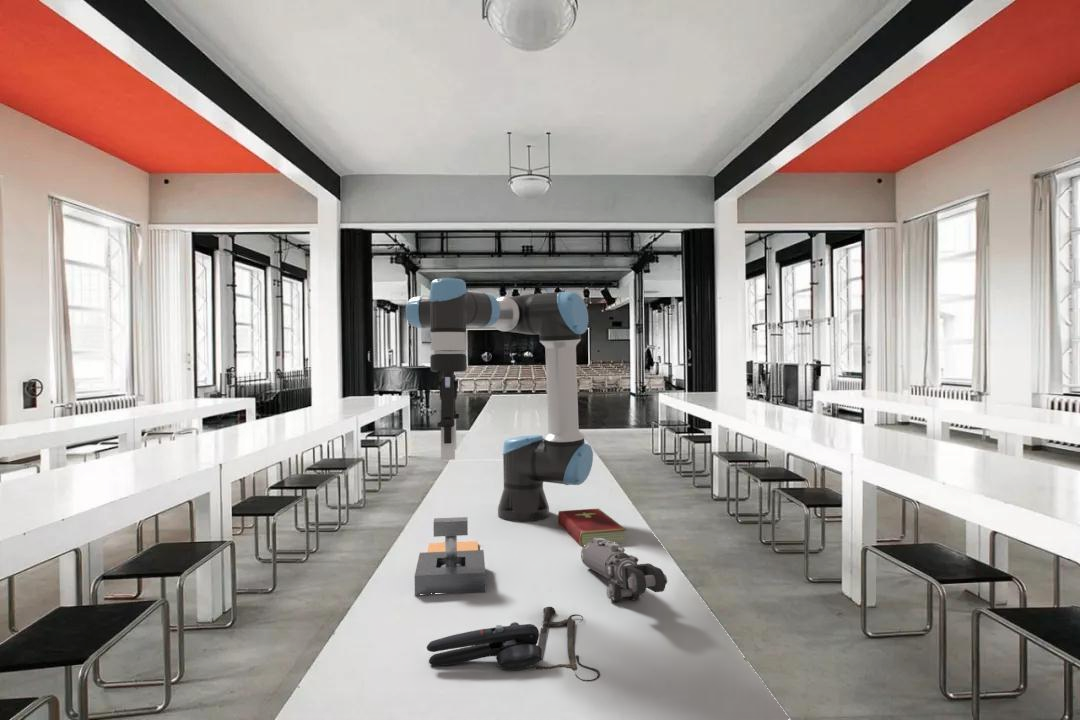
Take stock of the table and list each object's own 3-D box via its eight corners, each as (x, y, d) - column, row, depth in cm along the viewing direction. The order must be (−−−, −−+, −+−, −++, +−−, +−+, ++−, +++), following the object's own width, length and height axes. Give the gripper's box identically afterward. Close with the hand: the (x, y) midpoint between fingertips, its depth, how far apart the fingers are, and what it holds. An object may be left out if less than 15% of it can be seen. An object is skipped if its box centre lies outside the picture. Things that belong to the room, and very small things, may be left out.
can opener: (540, 648, 100) (539, 614, 100) (542, 671, 93) (542, 634, 93) (429, 653, 99) (429, 618, 99) (424, 676, 92) (423, 639, 92)
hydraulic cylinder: (636, 620, 105) (632, 560, 107) (574, 579, 140) (571, 534, 142) (675, 616, 107) (671, 556, 108) (604, 576, 142) (601, 531, 144)
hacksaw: (542, 611, 115) (542, 603, 115) (597, 613, 114) (598, 606, 114) (530, 686, 91) (530, 676, 91) (600, 690, 90) (600, 680, 90)
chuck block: (483, 567, 138) (483, 549, 137) (485, 592, 124) (485, 572, 124) (419, 570, 136) (419, 552, 136) (414, 595, 122) (414, 575, 122)
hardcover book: (580, 548, 152) (580, 531, 152) (557, 525, 172) (557, 510, 172) (625, 544, 155) (625, 528, 155) (598, 522, 175) (598, 507, 175)
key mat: (477, 544, 154) (477, 541, 154) (478, 560, 142) (478, 556, 142) (429, 546, 153) (429, 543, 153) (426, 562, 141) (425, 559, 141)
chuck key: (467, 576, 132) (467, 516, 132) (467, 584, 128) (467, 521, 128) (434, 578, 131) (434, 517, 131) (433, 585, 127) (433, 523, 127)
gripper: (433, 352, 141) (434, 445, 141) (426, 353, 116) (426, 465, 117) (466, 352, 142) (467, 444, 142) (466, 352, 117) (466, 464, 117)
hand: (449, 454), depth 129 cm, fingers open, 13 cm apart
